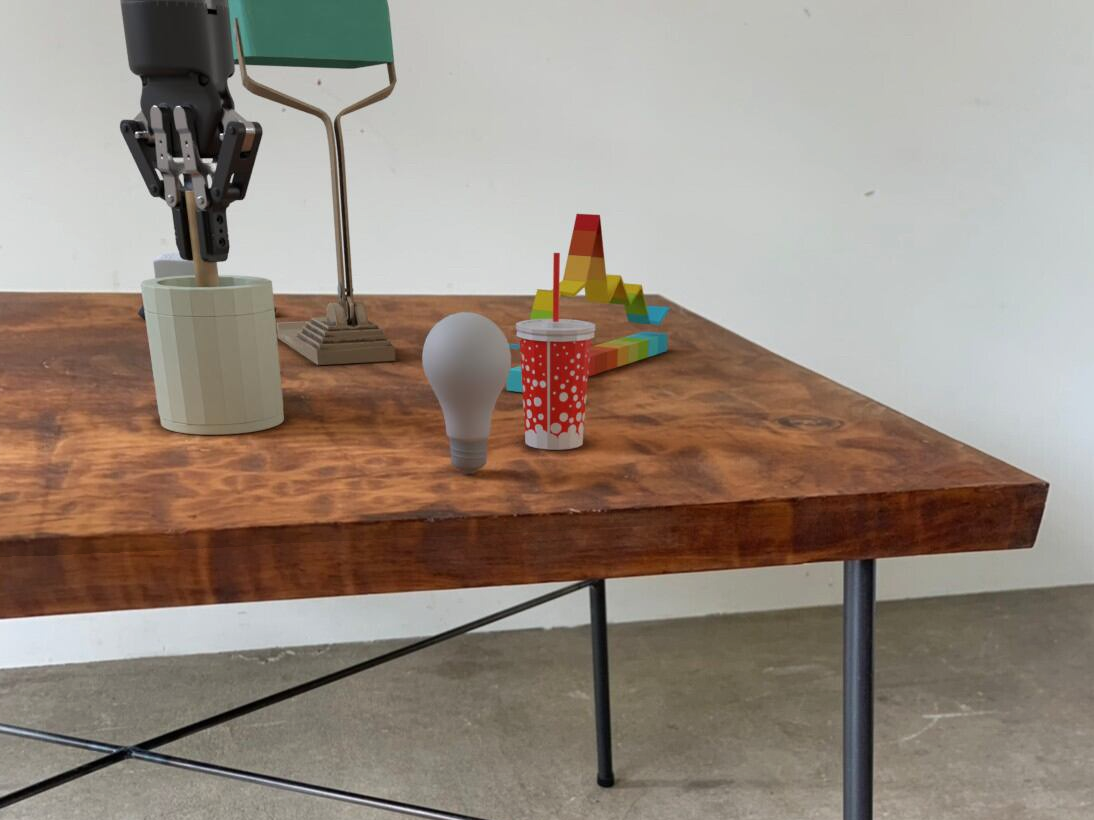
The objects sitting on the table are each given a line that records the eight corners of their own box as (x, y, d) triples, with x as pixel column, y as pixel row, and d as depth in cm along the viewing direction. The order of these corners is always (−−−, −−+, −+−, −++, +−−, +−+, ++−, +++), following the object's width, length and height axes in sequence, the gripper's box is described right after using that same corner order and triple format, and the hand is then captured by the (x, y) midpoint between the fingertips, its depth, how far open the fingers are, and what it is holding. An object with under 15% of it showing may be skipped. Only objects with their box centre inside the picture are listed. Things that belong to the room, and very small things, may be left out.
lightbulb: (505, 462, 87) (504, 306, 81) (517, 483, 81) (517, 318, 76) (423, 464, 86) (417, 306, 80) (430, 486, 80) (423, 319, 75)
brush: (204, 408, 94) (177, 191, 87) (194, 400, 97) (168, 189, 90) (248, 404, 96) (225, 191, 88) (237, 396, 99) (215, 189, 91)
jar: (174, 439, 91) (154, 291, 86) (150, 414, 99) (130, 277, 94) (298, 428, 95) (286, 286, 90) (266, 405, 103) (253, 273, 98)
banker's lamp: (282, 367, 120) (246, -37, 104) (244, 337, 137) (207, -13, 121) (427, 358, 126) (414, -25, 110) (373, 331, 143) (354, -4, 127)
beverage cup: (599, 436, 94) (605, 250, 88) (583, 454, 89) (589, 258, 83) (526, 431, 95) (526, 248, 89) (506, 449, 90) (506, 254, 84)
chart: (641, 348, 134) (648, 206, 128) (666, 351, 133) (675, 207, 126) (504, 390, 111) (503, 219, 104) (532, 394, 110) (534, 221, 103)
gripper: (68, 0, 84) (107, 258, 92) (201, -9, 77) (230, 270, 85) (151, 9, 89) (181, 252, 97) (281, 2, 83) (302, 263, 91)
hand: (204, 259), depth 91 cm, fingers closed on brush, 2 cm apart
